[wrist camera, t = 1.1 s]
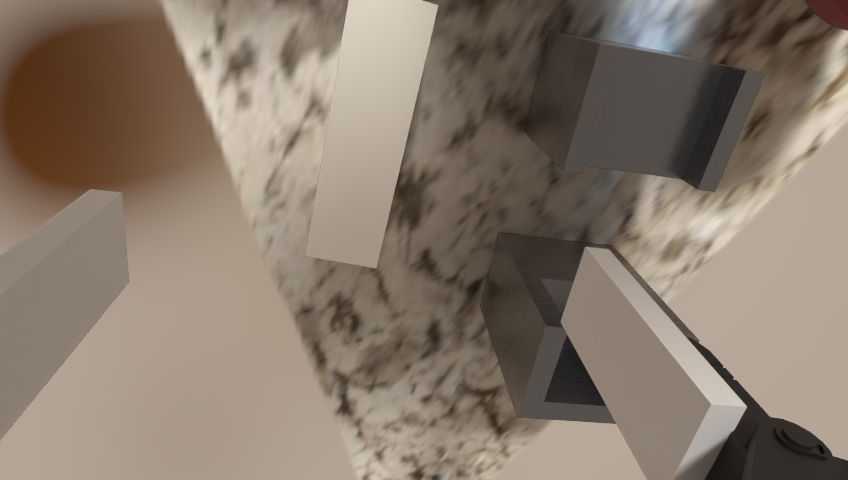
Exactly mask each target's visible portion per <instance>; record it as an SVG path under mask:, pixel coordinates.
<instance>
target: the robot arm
mask: <svg viewBox="0 0 848 480" xmlns="http://www.w3.org/2000/svg"><path fill="white" fill-rule="evenodd" d="M128 283H129V272H128V261H127V248H126V237H125V225H124V213H123V201H122V193H120V192H111V191H102V190H93V189H90V190H89V191H88V192H86V193H85V194H83V195H82V196H81V197H79V198H78V199H77V200H75V201H74V202H73V203H71V204H70V205H69V206H67V207H66V208H64V209H63V210H62V211H60V212H59V213H58V214H56V215H55V216H54V217H52V218H51V219H49V220H48V221H47V222H45V223H44V224H43V225H41V226H40V227H39V228H37V229H36V230H35V231H33V232H32V233H30V234H29V235H28V236H26V237H25V238H24V239H22V240H21V241H19V242H18V243H17V244H16V245H14V246H13V247H11V248H10V249H9V250H7V251H6V252H5V253H3V254H2V255H0V440H1V439H2V438H3V437H4V435H5V434H6V433H7V432H8V430H9V429H10V428H11V427H12V426H13V424H14V423H15V422H16V421H17V419H18V418H19V417H20V416H21V415H22V413H23V412H24V411H25V410H26V408H27V407H28V406H29V405H30V403H31V402H32V401H33V400H34V398H35V397H36V396H37V395H38V394H39V392H40V391H41V390H42V389H43V387H44V386H45V385H46V384H47V382H48V381H49V380H50V379H51V378H52V376H53V375H54V374H55V373H56V371H57V370H58V369H59V368H60V366H61V365H62V364H63V363H64V362H65V360H66V359H67V358H68V357H69V355H70V354H71V353H72V352H73V350H74V349H75V348H76V347H77V346H78V344H79V343H80V342H81V341H82V339H83V338H84V337H85V336H86V335H87V333H88V332H89V331H90V329H91V328H92V327H93V326H94V325H95V323H96V322H97V321H98V320H99V318H100V317H101V316H102V315H103V314H104V312H105V311H106V310H107V309H108V307H109V306H110V305H111V304H112V303H113V301H114V300H115V299H116V298H117V296H118V295H119V294H120V293H121V291H122V290H123V289H124V288H125V287H126V285H127V284H128ZM561 324H562V326H563V328H564V329H565V331H566V333H567V335H568V337H569V339H570V340H571V342H572V344H573V346H574V348H575V349H576V351H577V353H578V355H579V357H580V359H581V360H582V362H583V364H584V366H585V368H586V369H587V371H588V373H589V375H590V377H591V379H592V380H593V382H594V384H595V386H596V388H597V390H598V391H599V393H600V395H601V397H602V399H603V400H604V402H605V404H606V406H607V408H608V410H609V411H610V413H611V415H612V417H613V419H614V420H615V422H616V424H617V426H618V428H619V430H620V431H621V433H622V435H623V437H624V439H625V441H626V442H627V444H628V446H629V448H630V450H631V451H632V453H633V455H634V457H635V459H636V460H637V462H638V464H639V466H640V468H641V470H642V471H643V473H644V475H645V477H646V479H647V480H848V461H847V460H844V459H840V458H837V457H833V456H832V453H831V451H830V450H829V449H828V448H827V447H826V445H825V444H824V443H823V442H822V441H821V440H819V439H818V438H817V437H816V436H814V435H813V434H812V433H811V432H809V431H807V430H805V429H804V428H802V427H800V426H798V425H797V424H794V423H792V422H789V421H786V420H784V419H779V418H772V417H769V416H768V414H767V413H766V412H765V411H764V410H763V409H762V408H761V407H760V406H759V404H758V403H757V402H756V401H755V400H754V399H753V398H752V397H751V396H750V395H749V394H748V392H747V391H746V390H745V389H744V388H743V387H742V386H741V385H740V384H739V382H738V381H736V380H734V379H733V376H732V375H731V374H730V373H729V372H728V370H727V369H726V368H723V365H722V364H721V363H720V362H719V361H718V359H717V358H716V357H715V356H714V355H713V354H712V353H711V352H710V351H709V350H708V349H706V348H705V347H704V346H702V345H701V344H699V343H698V342H696V341H695V340H694V339H692V338H689V337H685V335H684V334H683V333H682V332H681V331H680V330H679V329H678V327H677V326H676V325H675V324H674V323H673V322H672V321H671V319H670V318H669V317H668V316H667V315H666V314H665V313H664V312H663V310H662V309H661V308H660V307H659V306H658V305H657V304H656V302H655V301H654V300H653V299H652V298H651V297H650V296H649V294H648V293H647V292H646V291H645V290H644V289H643V288H642V286H641V285H640V284H639V283H638V282H637V281H636V280H635V279H634V277H633V276H632V275H631V274H630V273H629V272H628V271H627V269H626V268H625V267H624V266H623V265H622V264H621V263H620V261H619V260H618V259H617V258H616V257H615V256H614V255H613V253H612V252H611V251H610V250H609V249H601V248H593V247H585V249H584V252H583V255H582V258H581V261H580V264H579V267H578V270H577V273H576V276H575V279H574V282H573V285H572V288H571V291H570V294H569V297H568V300H567V303H566V306H565V310H564V313H563V316H562V319H561Z"/></svg>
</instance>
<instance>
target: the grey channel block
mask: <svg viewBox="0 0 848 480" xmlns="http://www.w3.org/2000/svg"><path fill="white" fill-rule="evenodd" d="M764 76H765V74H763V73H759V72H755V71H750V70H746V69H742V68H737V67H733V66H728V65H724V64H720V63H715V62H711V61H707V60H702V59H698V58H694V57H689V56H685V55H680V54H675V53H669V52H664V51H659V50H653V49H648V48H642V47H637V46H631V45H626V44H620V43H615V42H609V41H604V40H598V39H593V38H588V37H582V36H577V35H571V34H566V33H560V32H555V31H549V34H548V38H547V42H546V46H545V50H544V54H543V58H542V62H541V66H540V70H539V74H538V78H537V82H536V86H535V90H534V94H533V98H532V102H531V106H530V110H529V114H528V118H527V122H526V126H525V130H524V132H525V133H526V134H527V135H528V136H529V137H530V138H531V139H532V140H533V141H534V142H535V143H536V144H537V145H538V146H539V147H540V148H541V149H542V150H543V151H544V152H545V153H546V154H547V155H548V156H549V157H550V158H551V159H552V160H553V161H554V162H555V163H556V164H557V165H558V166H559V167H560V168H561V169H562V170H564V171H571V172H578V173H582V172H583V168H584V165H587V166H593V167H600V168H607V169H614V170H621V171H628V172H635V173H642V174H649V175H656V176H663V177H670V178H677V179H682V180H684V181H685V182H687V183H688V184H690V185H691V186H693V187H695V188H696V189H698V190H705V191H712V192H715V191H716V188H717V186H718V184H719V181H720V179H721V177H722V174H723V172H724V170H725V167H726V165H727V163H728V160H729V158H730V155H731V153H732V151H733V148H734V146H735V144H736V141H737V139H738V137H739V134H740V132H741V130H742V127H743V125H744V123H745V120H746V118H747V116H748V113H749V111H750V109H751V106H752V104H753V102H754V99H755V97H756V95H757V92H758V90H759V88H760V85H761V83H762V81H763V78H764Z"/></svg>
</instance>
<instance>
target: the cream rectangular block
mask: <svg viewBox="0 0 848 480" xmlns="http://www.w3.org/2000/svg"><path fill="white" fill-rule="evenodd" d="M437 10H438V5H436V4H433V3H430V2H427V1H423V0H349V1H348V7H347V13H346V19H345V25H344V31H343V36H342V42H341V48H340V54H339V60H338V66H337V72H336V78H335V83H334V89H333V95H332V101H331V107H330V113H329V119H328V125H327V130H326V136H325V142H324V148H323V154H322V160H321V166H320V172H319V177H318V183H317V189H316V195H315V201H314V207H313V213H312V218H311V224H310V230H309V236H308V242H307V248H306V254H305V256H307V257H313V258H319V259H324V260H330V261H336V262H342V263H347V264H353V265H359V266H365V267H371V268H377V264H378V260H379V255H380V251H381V247H382V243H383V238H384V234H385V230H386V226H387V221H388V217H389V213H390V209H391V204H392V200H393V196H394V192H395V188H396V183H397V179H398V175H399V171H400V166H401V162H402V158H403V154H404V149H405V145H406V141H407V137H408V133H409V128H410V124H411V120H412V116H413V111H414V107H415V103H416V99H417V94H418V90H419V86H420V82H421V77H422V73H423V69H424V65H425V61H426V56H427V52H428V48H429V44H430V39H431V35H432V31H433V27H434V22H435V18H436V14H437Z"/></svg>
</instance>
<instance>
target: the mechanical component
mask: <svg viewBox="0 0 848 480" xmlns="http://www.w3.org/2000/svg"><path fill="white" fill-rule="evenodd" d="M805 1H806V3H807V5H808V6H809V7H810V8H811V9H812V11H813V12H814V13H815V14H816V15H817V16H819V17H820V18H821V19H822V20H824V21H825V22H827V23H829V24H831V25H833V26H835V27H837V28H840V29H844V30H848V0H805Z"/></svg>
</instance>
